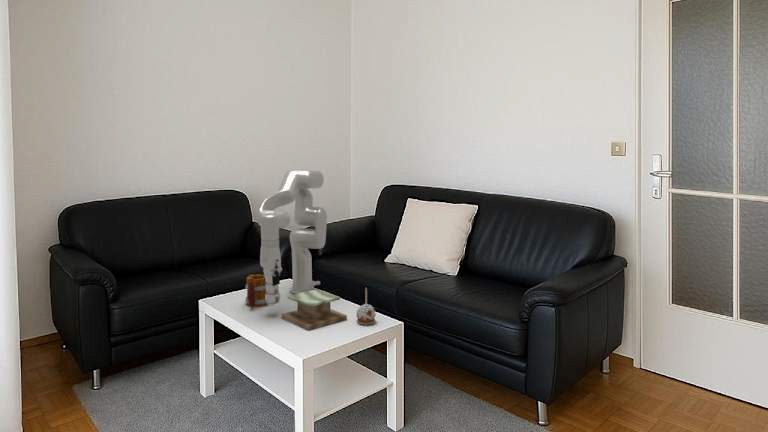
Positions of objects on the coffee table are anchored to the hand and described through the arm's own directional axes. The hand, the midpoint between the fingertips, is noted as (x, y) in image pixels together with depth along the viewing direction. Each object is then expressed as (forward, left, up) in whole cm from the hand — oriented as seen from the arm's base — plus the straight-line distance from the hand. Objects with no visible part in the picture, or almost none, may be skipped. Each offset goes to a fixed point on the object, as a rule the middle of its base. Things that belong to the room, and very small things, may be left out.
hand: (271, 282), depth 261 cm
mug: (-1, -17, -15) cm, 22 cm away
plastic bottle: (0, 0, -10) cm, 10 cm away
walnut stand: (-10, +16, -15) cm, 24 cm away
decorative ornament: (-24, +34, -15) cm, 45 cm away
